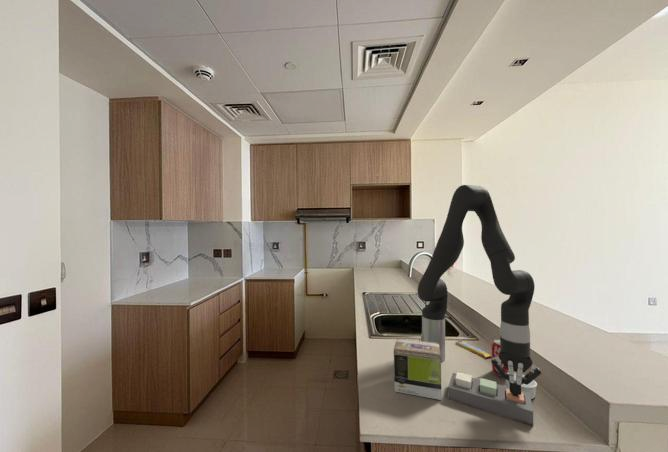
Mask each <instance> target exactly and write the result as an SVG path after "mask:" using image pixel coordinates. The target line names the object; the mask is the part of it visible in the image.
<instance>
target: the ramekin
mask: <svg viewBox="0 0 668 452" xmlns="http://www.w3.org/2000/svg"><path fill="white" fill-rule="evenodd" d="M507 374H509V373H507ZM525 375H526V374H522V377H524V376H525ZM514 380H515V381H516V372H514ZM505 385H506V387H509V388H510V382H509V381H508V380H507V379H505ZM537 387H538V382H536V381H535V379H534V380H533V381H532V382H530V383H529V384H528V385H526V384H522V385H521V391H525V392H528V393H530V396H531V400H532V399H535V397H536V395H537Z"/></svg>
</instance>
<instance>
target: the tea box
mask: <svg viewBox="0 0 668 452" xmlns="http://www.w3.org/2000/svg"><path fill="white" fill-rule="evenodd" d="M393 366H394V367H393V379H394V381H393V383H394V385H393V386H394V387H393V388H394V393H395V392H396V393H401V394H405V395H412V396H418V397H422V398H428V399H433V400H438V401H442V396H443V394H442V362H441V355H440V347H439V343H434V342H425V341H421V340H414V339H406V338H399V337H398V338H396V340H395V344H394V348H393Z"/></svg>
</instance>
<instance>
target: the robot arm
mask: <svg viewBox="0 0 668 452" xmlns="http://www.w3.org/2000/svg"><path fill="white" fill-rule="evenodd" d="M447 212H448V213H447V215H446V219H445V222H444V224H443V227H442V231H441V232H440V235H439V237H438V240H437V242H436V244H435V245H436V246H435V248H434V251H433V253H432V256H431V258H430V259H429V260H430V261H429V262H428V265H427V267H426V269H425V271H424V272H423V274H422V277H421V278H420V280H419V283H418V284H417V285H418V286H417V295H418V298H419V299H420V300H421V301H422V302H426V303H427V302H428V304H427V305H426V306H424V307H423V308H422V309H421V334H420V341H425V342H434V343H439V347H440V355H441V363H443V362H444V361H445V360H446V314H447V310H448V295H449V294H448V287H447V284H446V282H445V281H444V280H443V279H441V277H443V275H444V274H445V273H446V272H447V271H448V270H450V269H451V268H452V267H453V265H454V264H456V262H457V261H458V259H459V258H460V255H461V253H462V251H463V248H464V244H465V239H464V234H463V224H464V220H465V218H466V216H467V214H468V212H474V213H475V214H476V216H477V217H478V219H479V221H480V225H481V235H480V239H481V244H482V247H483V249H484V251H485V254H486V255H487V258H488V260H489V262H490V269H491V275H492V280H493V283H494V285H495V287H496V288H497V290H498V291H499V292H500V293H501V294H504V295H508V296H509V297H508V298H507V299H506V300H504V301H502V303H501V305H500V325H499V326H500V327H499V334H500V336H499V339H500V352H499V356H497V357H492V356H491V359H490V361H491V362H490V363H491V365H492V364H493V365H494V367H495V368H496V369H497V371H498V372H499V373H500V374H501V376H502V377H501V376H500V377H501V378H503V380H506V379H507V380H508V381H509V382H510V392H511V393H512V394H513V395H514V396H515V395H516V396H518V395H521V385H522V384H526V385H528V384H529V383H530V382H532V381H533V380H534V381H535V379H536V378H538V377H539V376H540V375H542V370H541V368H540V367H539V366H536V365H535V364H534V363H533V360H532V357H531V331H530V330H531V329H530V307H531V305H532V300H533V297H534V293H535V289H536V288H535V281H534V278H533V276H532V275H531V274H530V273H529V272H527V270H526V271H525V270H523V269H521V270H520V269H518V270H517V269H516V270H512V268H511V264H512V263H513V262H514V261H515V260H516V256H515V253H514V252H513V250H512V248H511V245H510V243H509V242H508V239H507V237H506V236H505V234H504V232H503V229H502V227H501V225H500V222H499V219H498V215H497V212H496V210H495V207H494V203H493V200H492V197H491V195H490V192H489V190H488V189H487V188H486V187H485V186H484V187H483V186H480V185H472V184H471V185H470V184H462V185H460V186H458V187H457V188H455V191H454V193H453V195H452V198H451V201H450V204H449V208H448V211H447ZM500 360H501V361H502V363H503V364H504V366H505V367H506V368H507V369H508V370H509V374H507V373H506V371H505V370H504V369H503V367H502V366H501V365H500V364H501V362H500ZM528 369H529V370H530V371H528ZM513 371H514V372H513ZM526 371H528V373H527V374H524V375H525V376H524V377H522V375H523V373H525V372H526ZM514 373H516V381H515V380H514Z"/></svg>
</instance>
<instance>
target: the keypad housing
mask: <svg viewBox="0 0 668 452" xmlns="http://www.w3.org/2000/svg"><path fill="white" fill-rule="evenodd" d="M456 375H457V372H456V373H455V372H452V374H451V377H450V381H449V383H448V387H447V392H448V393H447V397H448V401H452V402H454V403H457V404H461V405H462V404H463V405H465V406H468V407H470V408H475V409H477V410H481V411H484V412H488V413H491V414H494V415H497V416H500V417H503V418H506V419H510V420H512V421H516V422H519V423H522V422H523V424H525V425H528V424H529V426H531V425H533V426H534V409H533V403H532V402H533V401H532V399H531V396H530V393H528V392H525V391H521V392H522V393H523V394H524V401H525V404H522V403H518V402H514V401H511V400H507V399H506V388H507V389H510V388H509V387H506V386H505V385H500V384H498V383H496V388H497V396H493V395H490V394H486V393H483V392H480V380H481V379H477V378H476V377H475V378H474V377H472V389H469V388H465V387H461V386H458V385H456V379H455V378H456Z"/></svg>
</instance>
